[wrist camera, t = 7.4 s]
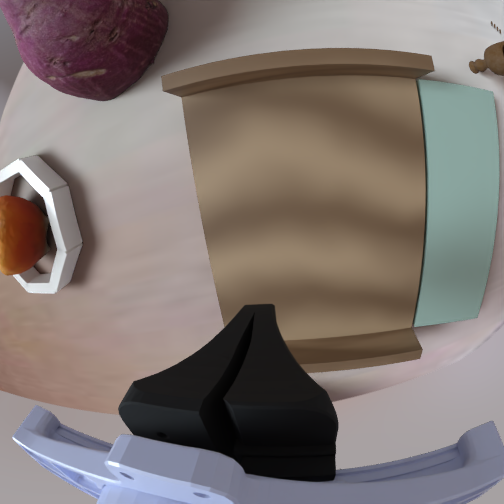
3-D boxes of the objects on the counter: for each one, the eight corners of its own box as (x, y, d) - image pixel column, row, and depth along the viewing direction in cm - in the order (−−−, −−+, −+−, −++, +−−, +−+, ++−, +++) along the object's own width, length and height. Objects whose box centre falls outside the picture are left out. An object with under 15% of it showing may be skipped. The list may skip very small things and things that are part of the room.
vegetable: (100, 24, 18) (0, -33, 3) (188, -2, 16) (90, -107, 1) (68, 113, 19) (-65, 81, 5) (156, 99, 17) (-20, 9, 3)
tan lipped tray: (405, 328, 22) (419, 358, 18) (232, 341, 25) (223, 374, 21) (406, 69, 14) (431, 55, 11) (186, 87, 17) (161, 76, 13)
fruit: (64, 280, 24) (-4, 296, 17) (47, 246, 28) (-9, 257, 21) (62, 204, 20) (-17, 215, 14) (47, 181, 24) (-15, 189, 18)
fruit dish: (95, 281, 25) (81, 293, 22) (25, 283, 27) (13, 292, 25) (61, 142, 20) (42, 144, 17) (-4, 179, 22) (-18, 183, 20)
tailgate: (411, 319, 22) (472, 311, 20) (414, 326, 21) (477, 317, 19) (413, 82, 15) (485, 92, 13) (419, 79, 14) (492, 91, 12)
